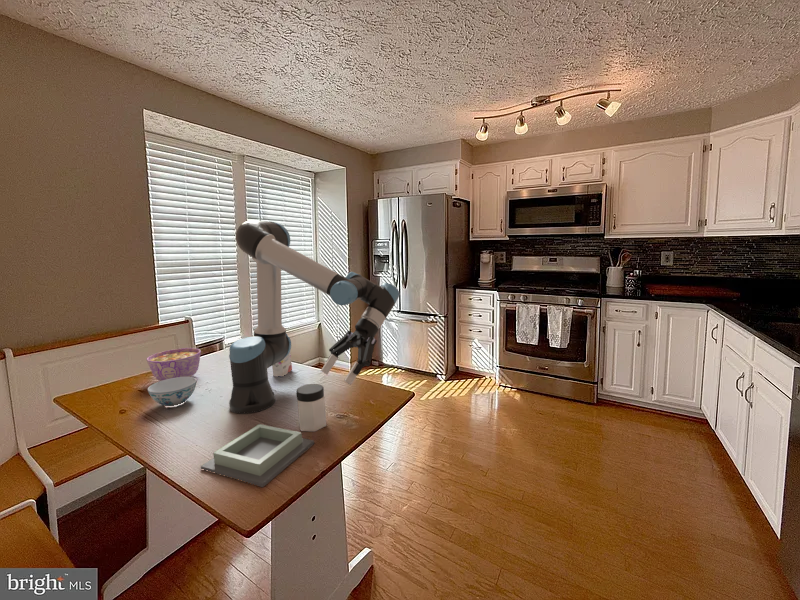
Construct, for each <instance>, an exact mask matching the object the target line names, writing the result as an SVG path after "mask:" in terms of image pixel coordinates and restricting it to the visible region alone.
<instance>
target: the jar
mask: <svg viewBox="0 0 800 600" xmlns="http://www.w3.org/2000/svg"><path fill="white" fill-rule="evenodd" d="M324 391H325V390H324V386H323V385H322V384H320V383H310V384H304V385H301V386H299V387H297V389H296V402H297V403H296V404H297V414H298V426H299V429H300V431H301V432H312V433H313V432H317V431H318V430H321V429H323V428H324V427H326V426H327V415H326V414H327V413H326V400H325V399H326V398H325V397H326V396H325V392H324Z"/></svg>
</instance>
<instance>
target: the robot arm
mask: <svg viewBox="0 0 800 600" xmlns="http://www.w3.org/2000/svg"><path fill="white" fill-rule="evenodd" d="M235 241H236V244H237V246H238V248H239V250H241V251H242V252H243V253H244V254H247V255H248V256H250V257H251V259H252V260H253V261H254V262H255V263H256V292H257V293H256V294H257V295H256V298H257V300H256V301H257V326H256V328H255V329H253V335H252V336H247V337H244V338H239V339H237V340H235V341H233V342H232V343H231V345H230V346H229V354H228V357H229V362H230V370H231V371H230V373H231V381H232V390H231V395H230V399H229V402H228V403H229V404H228V406H229V410H230V411H231V412H232V413H234V412H235V414H253V413H257V412H260V411H263V410H266V409H268V408H270V407H272V406H273V405H274V404H275V401H276V396H275V392H274V391H273V389H272V386H271V384H270V382H269V376H268V369H269V368H271V367H272V365H274V364H276V363H278V362H280V361H282V360H283V359H284V358H285V357H286V356H287V355H288V354H289V352H290V351H291V349H292V340H291V338H290V336H288V334H287V329H286V328H285V327H284V325H283V324H282V323H283V321H282V319H283V318H282V317H283V316H282V311H283V310H282V270H283V271H284V272H286V273H288V274H290V275H291V276H293V277H295V278H297V279H298V280H300V281H302V282H304V283H306V284H308V285H309V286H311V287H314V289H317V290H319V291H320V292H322V293H324V294H325V295H328V296H329V297H330V298H331V300H332V302H334V304H336V305H339V306H349V305H351V304H353V303H354V302H356V301H358V300H360V301H362V302H364V303H365V304H366V305H367V307H366V309H364V311H363V313H362V314H361V316H360V318H359V319H358V320H357V322H356V324H355V326H354V328H355V329H354V331H353V332H352V331H351V330H347V331H346V333H345V334H344V335H343V336H342V337H341V338H339V340H338V341H336V342H335V343H334V344H333V345H332V346H331V347H330V348H329V349H328V351H329V352H330V355H329V356H328V358H327V359H326V361H325V363H324V365H323V367H322V368H321V369H320V371H321V372H322V373H323V374H325V375H326V376H327V375H329V373H330V371H331V370H332V368H333V367H334V366H335V363H336V362H337V360H338V359H339V356H340V355H342V354H344V353H346V351H348V350H349V349H351V348H352V349H354V348H358V349H357V360H355V362H354V364H353V365H352V367H351V369H350V370H349V371H348V374H346V376H345V378H344V382H345V383H347V384H348V385H350V386H352V384H353V382H354V381H355V379H356V378H357V376H359V374H360V373H361V371H362V370H363V368H365V367H371V363H372V358H373V353H374V349H375V346H376V344H377V341H378V340H377V339H376V338H375V336H376V335H377V333H378V332H379V329H380V328H381V327H382V325H383V323H384V322H385V320H386V319H387V318H388V315H389V314H390V312H391V311H392V310H393V308H394V306H395V305H396V303H397V301H398V299H399V298H400V296H401V295H400V291H399V289H398V287H396V286H395V285H393V284H392V283H388V282H383V283H382V284H381V285H378V284H377V283H374V282H373V281H372V280H369V279H367V278H366V277H365V276H362V275H361V274H358V273H357V272H354V271H350V272H348V273H347V274H346V275H345V277H344V276H343V275H341V274H339V273H338V272H335V270H332V269H331V268H328V267H326V266H324V265H323V264H321V263H319V262H318V261H315V260H313V259H311V258H310V257H308V256H306V255H304V254H302V253H301V252H298V251H297V250H294V249H293V248H292V247H290V245H291V236H290V233H289V231H288V229H287V228H286V227H285V226H284V225H282V224H281V223H278V222H274V221H270V220H269V221H266V220H257V219H256V220H255V219H251V220H247V221H244V222H242V223H241V224H239V226H238V228H237V229H236V232H235Z"/></svg>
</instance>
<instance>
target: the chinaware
mask: <svg viewBox="0 0 800 600" xmlns="http://www.w3.org/2000/svg"><path fill="white" fill-rule="evenodd" d="M196 385H197V378H195V377H193V376H192V377H177V378H171V379H166V380H163V381H158V382H154V383H153V384H151V385H150V386H148V387H147V392H148V394H149V395H150V396H149V397H150V398H151V399H152V400H153V402H156V403H158V404H159V405H162V406H164V405H165V406H174V405H178V404H181V403H183V402H185V401H186V402H187V400H188V399H189V398H190V397H191V396H192V395H193V394H194V392H195V389H196Z"/></svg>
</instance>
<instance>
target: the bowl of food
mask: <svg viewBox="0 0 800 600" xmlns="http://www.w3.org/2000/svg"><path fill="white" fill-rule="evenodd" d="M201 353H202V351H201V349H200V348H196V347H184V348H175V349H169V350H163V351H160V352H156V353H154V354H151V355H149V356H148V357H147V358H146V361H147V364H148V366H149V369H150V372H151V374H152V376H154V378H155V379H156V380H158V382H160V381H163V380H166V379H171V378H177V377H193V376H194V375H195V374H196V373H197V372H198V370H199V367H200V360H201Z"/></svg>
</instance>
